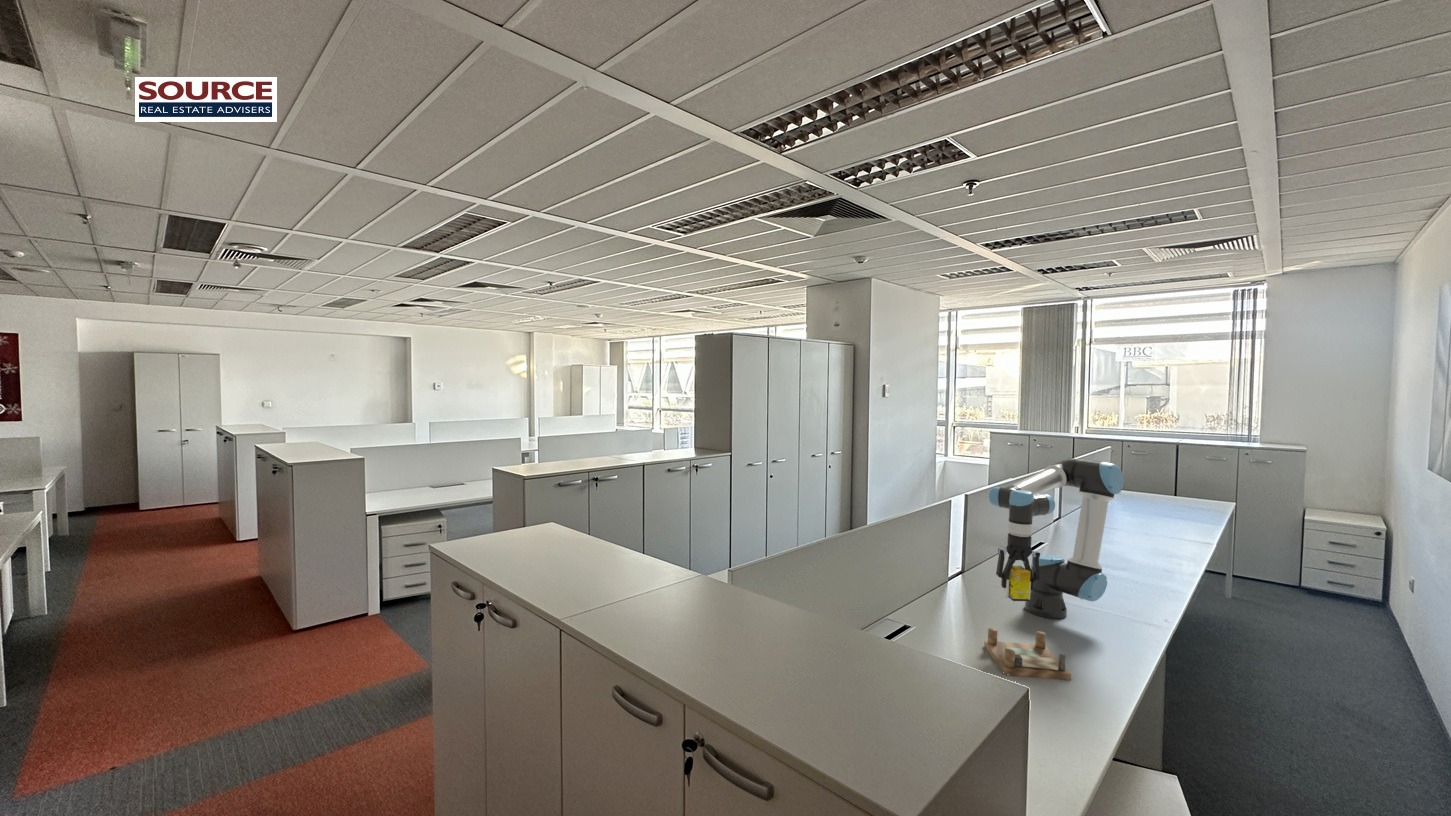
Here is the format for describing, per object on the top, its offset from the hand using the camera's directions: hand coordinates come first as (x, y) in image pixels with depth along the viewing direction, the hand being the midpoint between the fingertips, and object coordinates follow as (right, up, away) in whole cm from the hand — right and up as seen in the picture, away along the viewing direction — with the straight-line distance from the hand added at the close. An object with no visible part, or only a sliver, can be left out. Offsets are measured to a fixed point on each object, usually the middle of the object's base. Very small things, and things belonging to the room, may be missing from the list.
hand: (1016, 597), depth 202 cm
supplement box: (0, 0, 0) cm, 0 cm away
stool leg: (-4, -16, -19) cm, 25 cm away
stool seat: (-3, -18, -12) cm, 22 cm away
